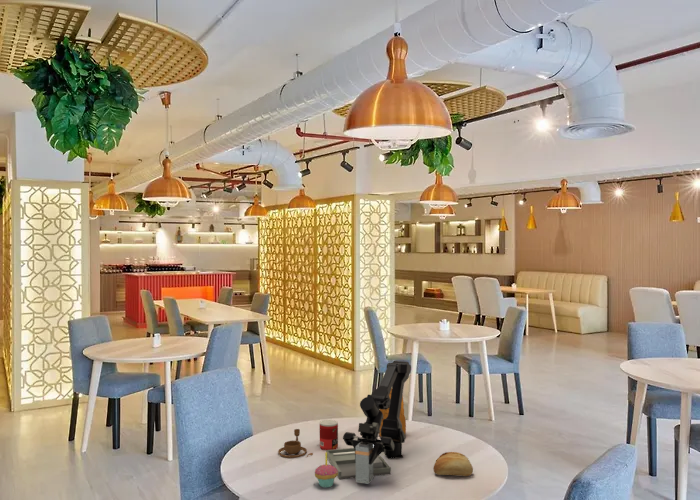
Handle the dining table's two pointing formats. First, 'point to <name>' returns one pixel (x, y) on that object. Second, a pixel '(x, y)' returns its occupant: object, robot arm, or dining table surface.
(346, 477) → the case
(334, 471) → the cupcake
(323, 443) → the canned food
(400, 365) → the robot arm
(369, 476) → the block
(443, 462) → the bread roll
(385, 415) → the coffee package
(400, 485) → the dining table surface
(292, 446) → the place setting
